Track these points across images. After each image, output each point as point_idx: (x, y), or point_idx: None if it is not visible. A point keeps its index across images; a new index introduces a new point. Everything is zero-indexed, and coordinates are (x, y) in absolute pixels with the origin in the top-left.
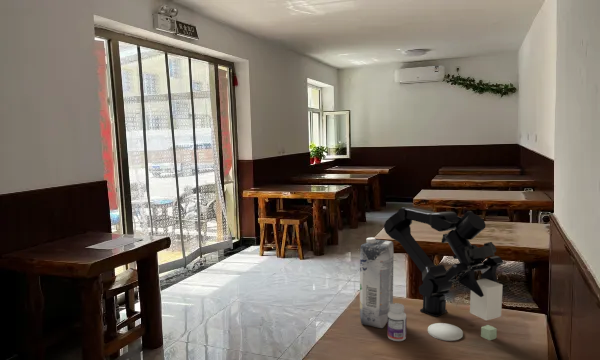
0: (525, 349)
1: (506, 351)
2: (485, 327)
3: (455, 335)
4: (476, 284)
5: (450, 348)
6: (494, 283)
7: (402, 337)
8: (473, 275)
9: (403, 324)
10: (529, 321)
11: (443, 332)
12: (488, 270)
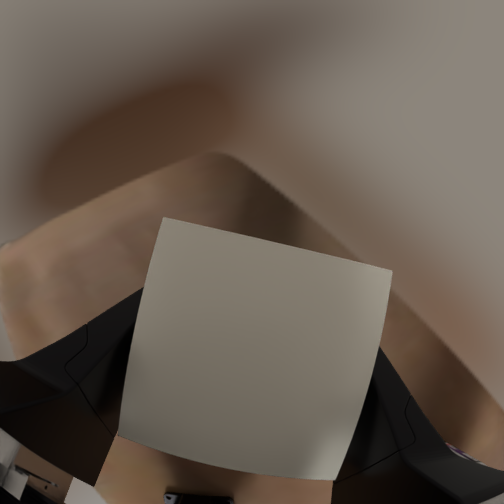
0: (228, 188)
1: (288, 222)
2: None
3: None
4: (403, 394)
5: (400, 348)
6: (188, 300)
7: (447, 444)
8: (437, 469)
9: (466, 457)
10: (36, 268)
11: None
12: (48, 447)
